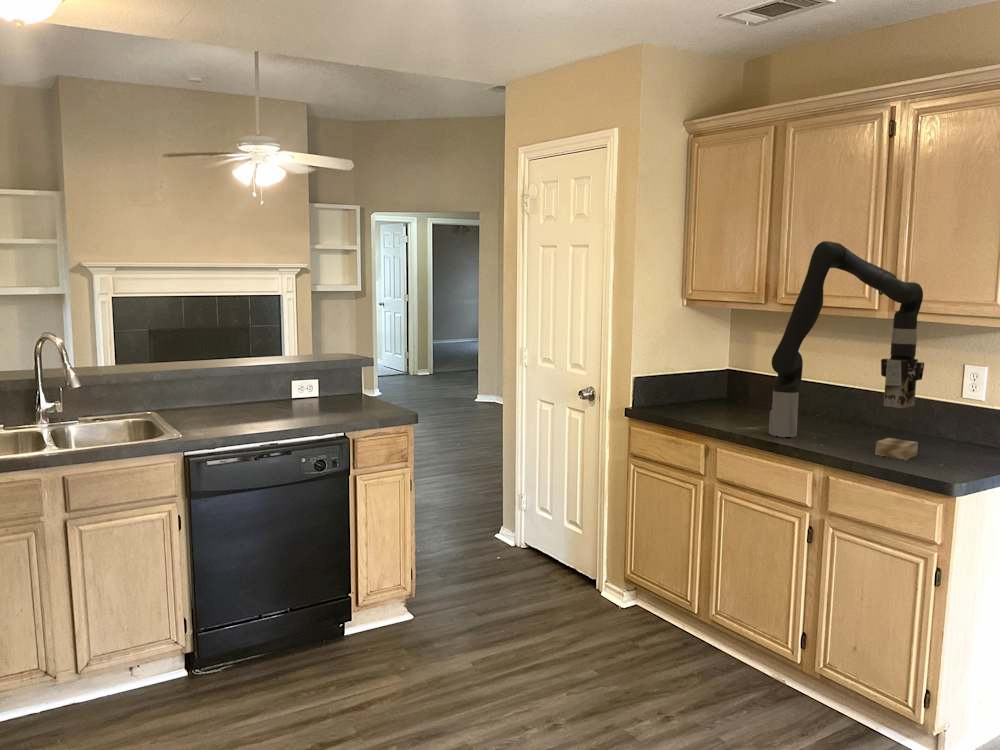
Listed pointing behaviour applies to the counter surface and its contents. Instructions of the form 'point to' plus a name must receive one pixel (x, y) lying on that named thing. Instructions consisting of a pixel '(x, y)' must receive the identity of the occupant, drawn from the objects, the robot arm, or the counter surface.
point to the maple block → (896, 448)
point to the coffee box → (898, 384)
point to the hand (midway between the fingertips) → (900, 390)
